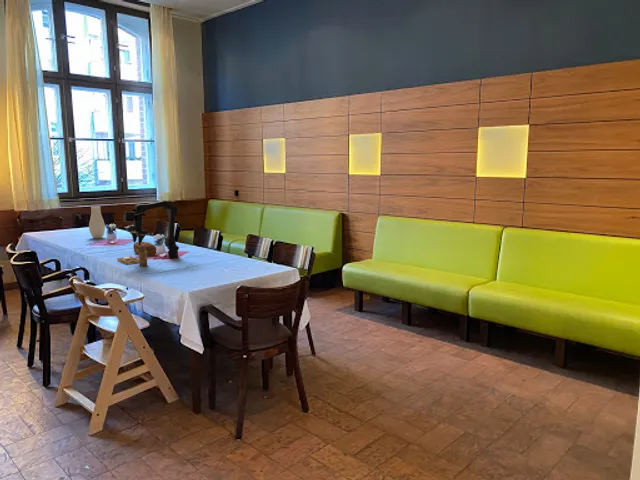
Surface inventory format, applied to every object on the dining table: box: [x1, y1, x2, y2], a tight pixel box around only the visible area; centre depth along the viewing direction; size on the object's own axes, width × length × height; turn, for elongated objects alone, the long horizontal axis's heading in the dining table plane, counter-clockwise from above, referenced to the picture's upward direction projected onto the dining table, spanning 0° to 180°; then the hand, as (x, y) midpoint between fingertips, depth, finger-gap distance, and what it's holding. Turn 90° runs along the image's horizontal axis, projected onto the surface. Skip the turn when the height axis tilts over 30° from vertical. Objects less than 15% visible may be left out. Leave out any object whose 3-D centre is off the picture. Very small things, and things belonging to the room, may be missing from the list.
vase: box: [88, 205, 106, 239], centre depth 457 cm, size 14×14×30 cm
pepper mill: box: [138, 246, 148, 268], centre depth 339 cm, size 5×5×14 cm
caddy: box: [117, 255, 139, 266], centre depth 351 cm, size 10×16×3 cm, turn 43°
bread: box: [133, 241, 157, 257], centre depth 381 cm, size 19×11×10 cm, turn 46°
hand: (136, 243), depth 351 cm, fingers open, 9 cm apart
